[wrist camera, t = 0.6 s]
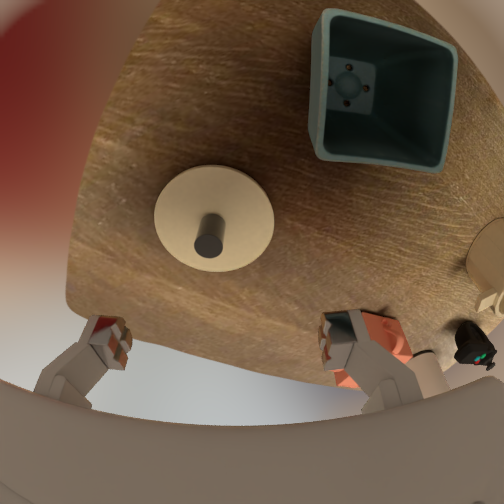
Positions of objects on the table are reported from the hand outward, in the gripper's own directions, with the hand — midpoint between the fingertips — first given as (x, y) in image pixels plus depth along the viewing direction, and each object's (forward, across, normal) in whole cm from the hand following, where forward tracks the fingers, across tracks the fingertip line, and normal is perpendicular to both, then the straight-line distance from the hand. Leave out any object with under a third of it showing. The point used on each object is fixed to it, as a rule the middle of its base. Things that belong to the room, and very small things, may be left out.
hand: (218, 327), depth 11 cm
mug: (+17, -31, +37) cm, 52 cm away
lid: (+16, +2, +4) cm, 17 cm away
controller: (+17, -38, +27) cm, 50 cm away
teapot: (+17, -16, +23) cm, 33 cm away
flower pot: (+16, -10, -8) cm, 21 cm away
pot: (+17, -35, +10) cm, 40 cm away
